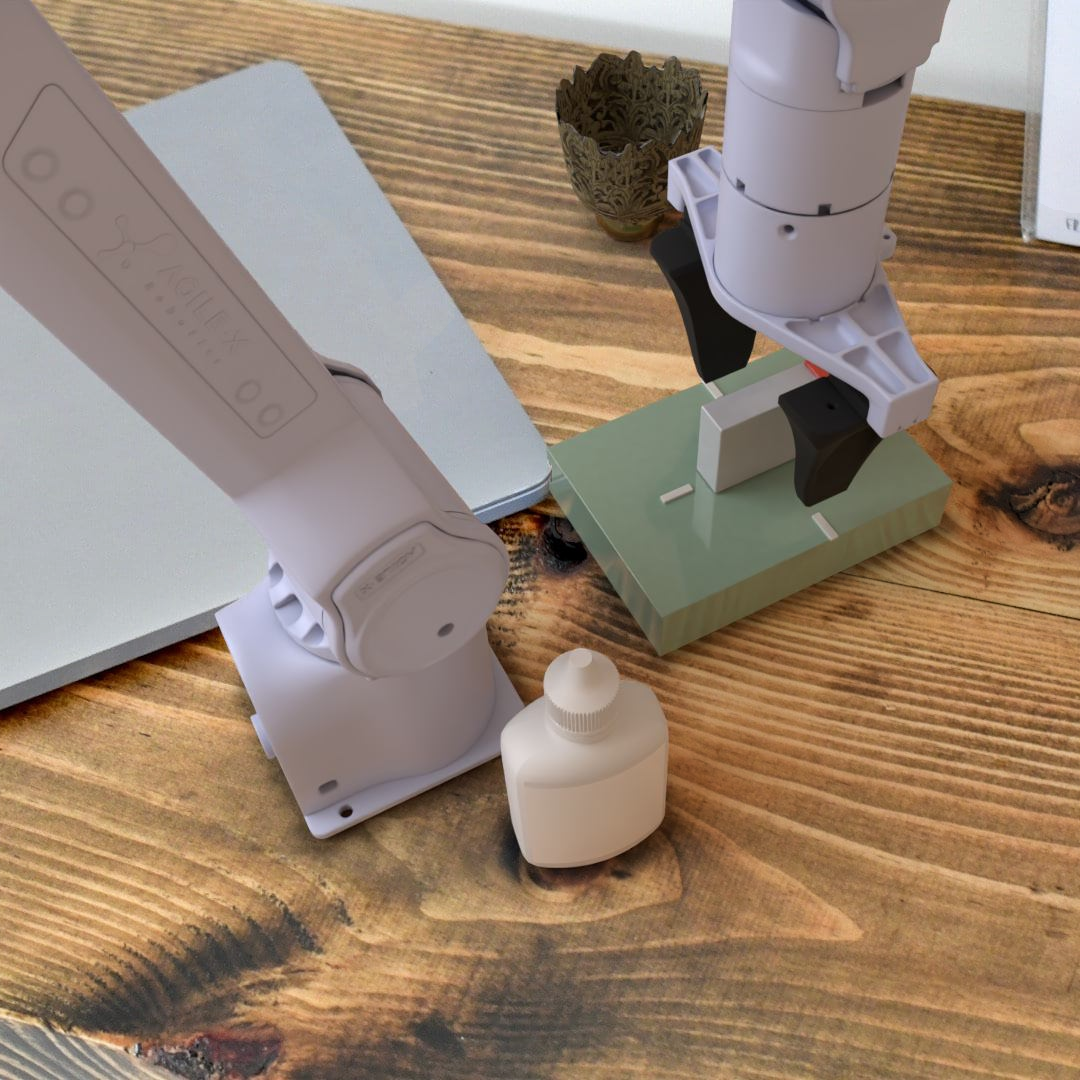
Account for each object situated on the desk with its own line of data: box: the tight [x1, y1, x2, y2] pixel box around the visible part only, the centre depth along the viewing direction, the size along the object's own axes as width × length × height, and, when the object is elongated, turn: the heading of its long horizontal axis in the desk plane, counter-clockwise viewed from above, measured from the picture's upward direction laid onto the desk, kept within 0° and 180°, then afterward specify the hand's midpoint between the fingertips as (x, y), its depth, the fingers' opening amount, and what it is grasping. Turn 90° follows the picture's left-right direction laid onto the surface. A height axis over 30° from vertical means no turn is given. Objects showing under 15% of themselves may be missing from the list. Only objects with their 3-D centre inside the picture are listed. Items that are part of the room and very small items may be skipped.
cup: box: [554, 49, 709, 242], centre depth 66 cm, size 8×7×8 cm
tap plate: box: [545, 347, 954, 657], centre depth 57 cm, size 14×10×3 cm
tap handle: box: [697, 360, 830, 493], centre depth 54 cm, size 6×2×4 cm, turn 117°
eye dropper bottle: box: [501, 647, 670, 869], centre depth 45 cm, size 4×6×12 cm
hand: (770, 429), depth 54 cm, fingers open, 7 cm apart
